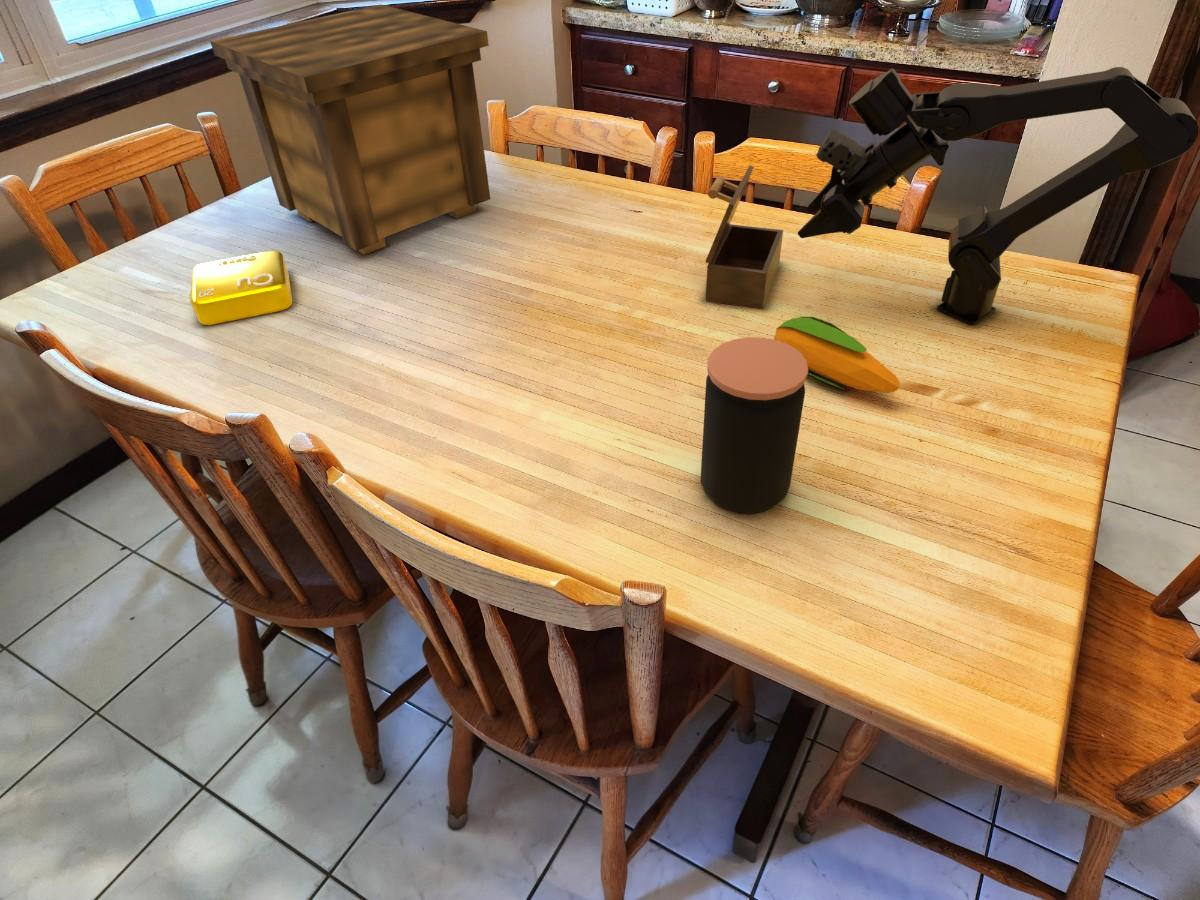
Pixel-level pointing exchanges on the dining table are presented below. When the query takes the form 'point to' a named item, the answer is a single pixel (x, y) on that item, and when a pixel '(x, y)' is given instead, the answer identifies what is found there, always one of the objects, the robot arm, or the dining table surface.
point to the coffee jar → (751, 422)
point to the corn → (836, 355)
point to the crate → (366, 118)
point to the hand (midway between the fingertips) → (803, 222)
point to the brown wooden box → (744, 266)
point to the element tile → (240, 287)
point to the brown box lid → (732, 206)
